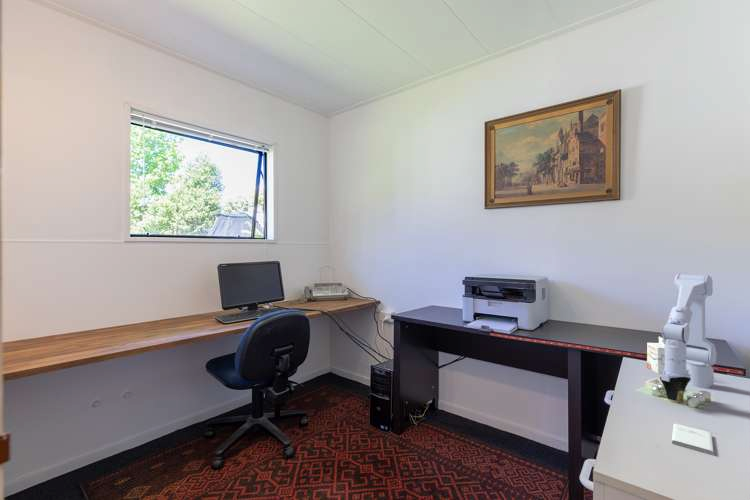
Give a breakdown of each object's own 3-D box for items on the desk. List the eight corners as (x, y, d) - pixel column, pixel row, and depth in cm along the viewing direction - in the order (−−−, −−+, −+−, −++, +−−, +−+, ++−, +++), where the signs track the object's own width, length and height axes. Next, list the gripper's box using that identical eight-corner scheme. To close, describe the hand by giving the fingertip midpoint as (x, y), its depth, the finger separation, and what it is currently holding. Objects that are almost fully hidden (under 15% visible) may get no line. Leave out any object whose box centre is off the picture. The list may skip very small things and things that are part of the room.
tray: (655, 382, 138) (655, 377, 138) (681, 389, 131) (681, 384, 131) (645, 386, 134) (645, 381, 134) (670, 393, 127) (670, 388, 127)
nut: (669, 396, 124) (669, 385, 124) (686, 401, 120) (686, 390, 120) (664, 399, 122) (664, 387, 122) (680, 404, 118) (680, 392, 118)
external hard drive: (671, 445, 96) (673, 428, 105) (713, 457, 90) (711, 437, 100) (671, 439, 96) (673, 422, 105) (713, 451, 90) (711, 432, 100)
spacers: (666, 388, 132) (666, 380, 132) (712, 401, 120) (712, 393, 120) (650, 394, 126) (650, 386, 126) (696, 409, 115) (696, 400, 114)
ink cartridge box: (646, 368, 156) (646, 335, 156) (658, 369, 155) (659, 336, 155) (657, 375, 148) (657, 340, 148) (671, 376, 147) (671, 341, 147)
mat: (657, 384, 138) (657, 382, 138) (718, 401, 122) (718, 399, 122) (633, 392, 130) (633, 390, 130) (695, 412, 114) (695, 409, 114)
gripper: (679, 365, 114) (679, 407, 114) (699, 358, 121) (699, 398, 121) (654, 359, 120) (654, 399, 120) (674, 353, 127) (674, 391, 127)
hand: (675, 398), depth 121 cm, fingers closed on nut, 4 cm apart
